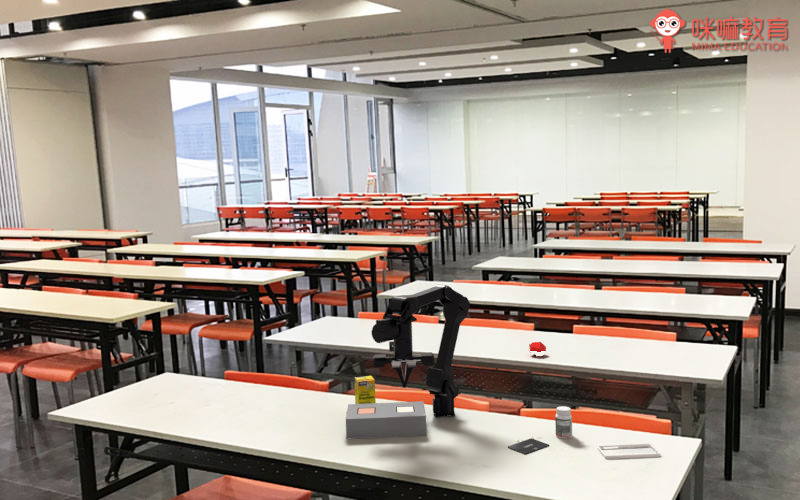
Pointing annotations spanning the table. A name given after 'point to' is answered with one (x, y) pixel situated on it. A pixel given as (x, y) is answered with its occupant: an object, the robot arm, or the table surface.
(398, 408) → the ivory key
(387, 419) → the key console
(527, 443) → the solid state drive
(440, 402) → the robot arm
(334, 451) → the table surface
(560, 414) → the pill bottle
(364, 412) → the terracotta key
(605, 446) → the phone case
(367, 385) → the supplement box
